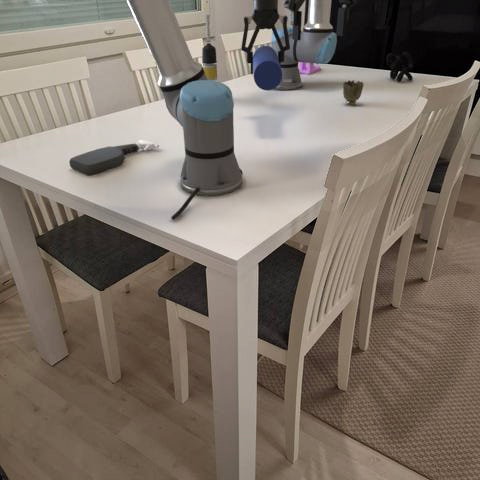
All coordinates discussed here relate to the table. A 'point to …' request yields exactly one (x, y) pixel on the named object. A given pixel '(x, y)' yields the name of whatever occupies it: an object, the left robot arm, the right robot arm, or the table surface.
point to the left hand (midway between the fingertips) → (318, 37)
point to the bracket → (308, 68)
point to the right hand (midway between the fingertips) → (265, 73)
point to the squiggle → (399, 66)
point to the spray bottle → (106, 157)
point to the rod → (266, 68)
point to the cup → (352, 91)
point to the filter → (209, 56)
